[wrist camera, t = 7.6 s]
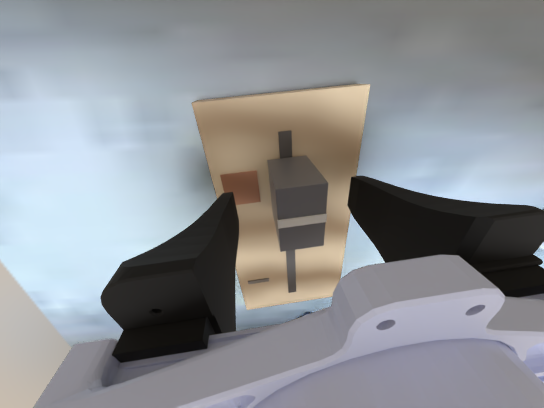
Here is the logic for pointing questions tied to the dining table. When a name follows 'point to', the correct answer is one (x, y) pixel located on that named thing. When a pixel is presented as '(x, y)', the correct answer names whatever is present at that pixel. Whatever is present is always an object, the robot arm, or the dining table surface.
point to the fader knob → (298, 202)
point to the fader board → (256, 187)
